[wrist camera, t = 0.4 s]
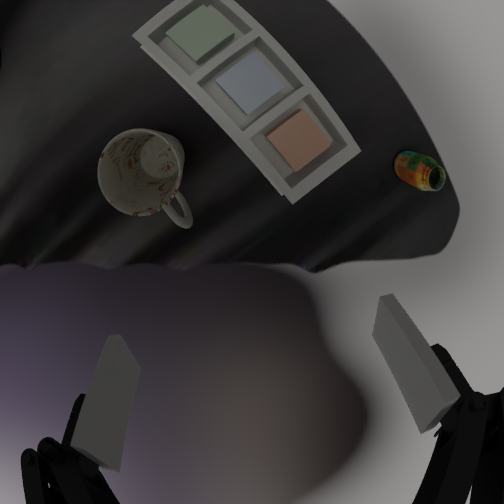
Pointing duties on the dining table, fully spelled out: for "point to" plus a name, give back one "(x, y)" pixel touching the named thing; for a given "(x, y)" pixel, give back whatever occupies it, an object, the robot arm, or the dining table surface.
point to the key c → (297, 139)
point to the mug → (144, 174)
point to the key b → (249, 83)
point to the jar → (419, 171)
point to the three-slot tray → (267, 114)
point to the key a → (200, 34)
